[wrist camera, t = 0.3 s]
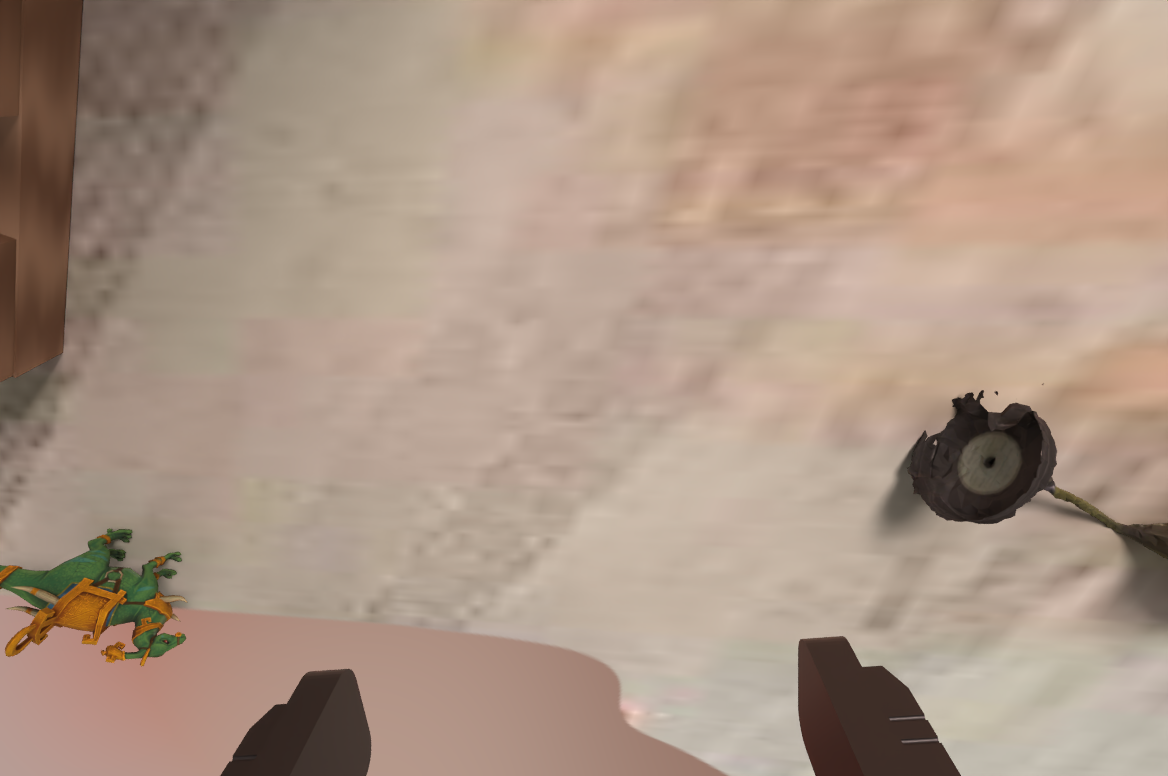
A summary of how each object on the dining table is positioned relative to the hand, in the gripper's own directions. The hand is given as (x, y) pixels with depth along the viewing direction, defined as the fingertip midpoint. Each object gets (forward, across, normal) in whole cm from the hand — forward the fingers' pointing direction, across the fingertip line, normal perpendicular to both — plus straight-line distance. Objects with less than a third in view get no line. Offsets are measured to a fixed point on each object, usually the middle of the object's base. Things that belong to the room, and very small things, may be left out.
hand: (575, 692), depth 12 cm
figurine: (+24, +28, +9) cm, 38 cm away
